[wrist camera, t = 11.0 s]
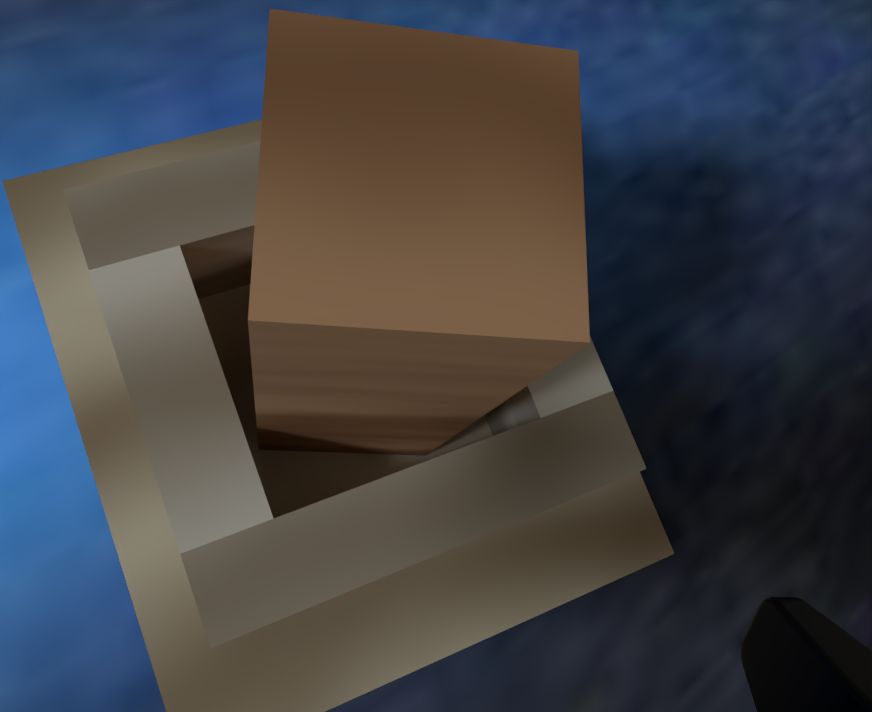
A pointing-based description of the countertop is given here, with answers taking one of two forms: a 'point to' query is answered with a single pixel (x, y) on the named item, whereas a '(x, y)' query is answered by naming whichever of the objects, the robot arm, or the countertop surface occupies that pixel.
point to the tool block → (298, 459)
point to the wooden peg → (410, 232)
